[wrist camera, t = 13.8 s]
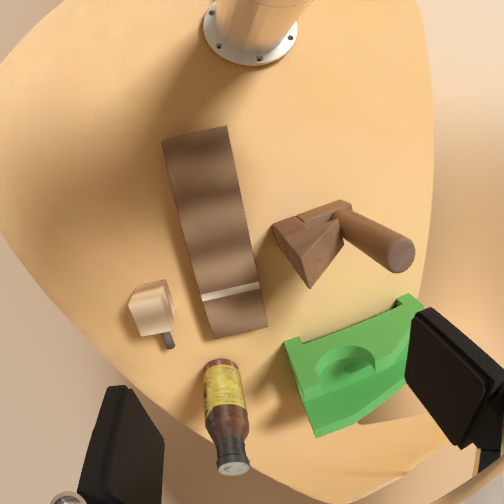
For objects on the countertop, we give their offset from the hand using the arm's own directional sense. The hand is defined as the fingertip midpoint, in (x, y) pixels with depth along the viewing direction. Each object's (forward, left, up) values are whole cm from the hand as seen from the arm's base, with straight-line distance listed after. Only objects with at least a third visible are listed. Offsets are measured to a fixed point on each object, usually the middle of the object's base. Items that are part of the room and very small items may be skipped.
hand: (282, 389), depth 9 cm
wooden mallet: (+5, +11, -34) cm, 36 cm away
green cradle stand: (+29, +17, -34) cm, 48 cm away
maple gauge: (+13, -13, -33) cm, 38 cm away
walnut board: (+4, -2, -33) cm, 34 cm away
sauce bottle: (+27, -7, -34) cm, 44 cm away
